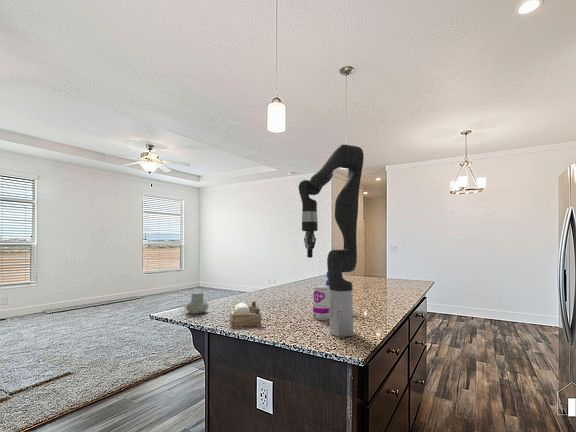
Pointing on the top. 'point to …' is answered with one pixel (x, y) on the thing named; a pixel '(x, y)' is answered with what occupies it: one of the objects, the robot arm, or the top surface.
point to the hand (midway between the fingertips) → (309, 257)
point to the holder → (246, 317)
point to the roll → (241, 309)
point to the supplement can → (321, 302)
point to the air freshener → (197, 304)
